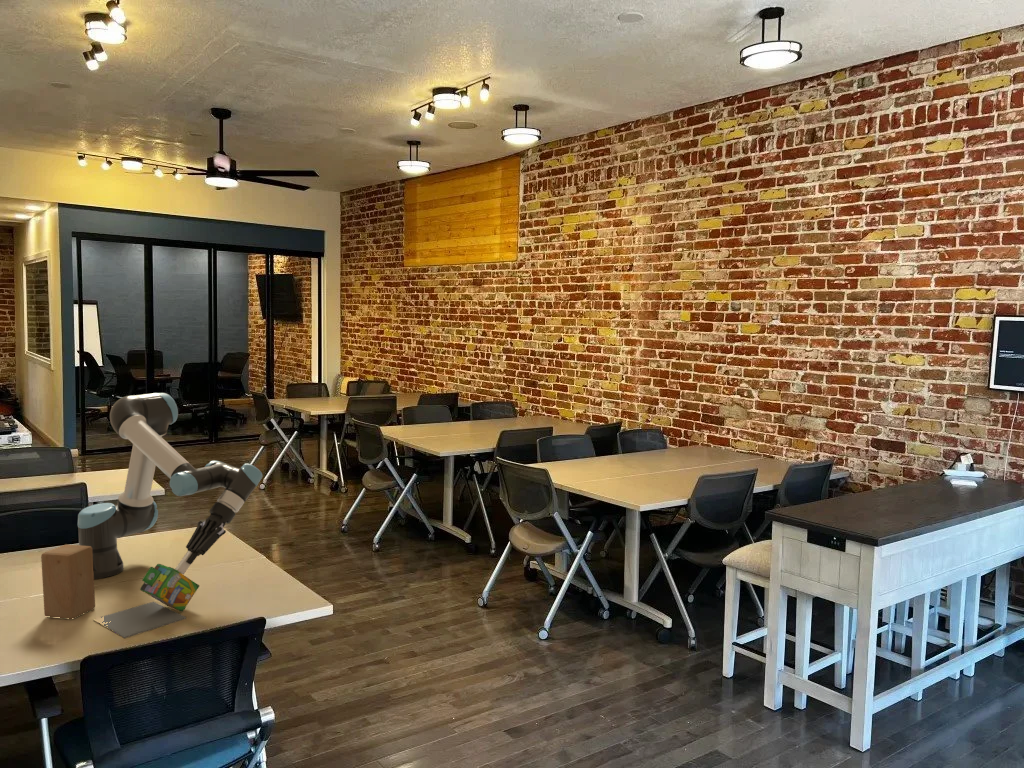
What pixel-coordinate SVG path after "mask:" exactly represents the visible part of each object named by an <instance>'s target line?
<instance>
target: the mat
mask: <svg viewBox="0 0 1024 768" xmlns="http://www.w3.org/2000/svg"><path fill="white" fill-rule="evenodd" d="M103 616H104V621H103V622H105V623H106V622H108V623H107V624H104V626H106V625H108V626H106V627H108V628H109V629H111V630H113V631H114V632H116V633H117V634H116V633H115V634H116V635H118V634H119V635H118V636H119V637H121V636H122V638H123V639H127V638H130V637H133V636H136V635H139V634H143V633H145V632H149V631H152V630H156V629H157V628H161V627H164V626H166V625H170V624H174V623H176V622H180V621H182V620H183V621H184V620H187V616H185V615H183V614H180V613H178V612H176V611H175V610H172V609H170V608H169V607H168V608H167V606H164V605H161V604H159V603H157V602H155V601H151V602H147V603H144V604H141V605H138V606H134V607H130V608H126V609H123V610H120V611H117V612H113V613H110V614H106V615H103ZM103 616H100V617H101V618H102V617H103ZM110 621H111V622H110ZM103 622H102V623H103ZM109 622H110V623H109ZM104 626H103V627H104ZM106 627H105V628H106ZM109 629H108V630H109ZM111 630H110V631H111ZM113 631H112V632H113ZM114 632H113V633H114Z"/></svg>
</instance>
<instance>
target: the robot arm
mask: <svg viewBox="0 0 1024 768" xmlns="http://www.w3.org/2000/svg"><path fill="white" fill-rule="evenodd" d="M178 417H179V410H178V406H177V403H176V401H175V399H174V398H173V397H172V396H171V395H170V394H168V393H165V392H153V393H143V394H136V395H135V394H133V395H126V396H123V397H121V398H119V399H118V400H116V402H114V403H113V405H112V407H111V409H110V412H109V420H110V425H111V427H112V429H113V430H114V432H116V434H117V435H118V436H120V438H122V439H123V440H128V441H130V443H132V449H131V453H130V458H129V465H128V470H127V475H126V480H125V486H124V491H123V492H122V493H120V494H119V495H118V498H117V504H114V503H111V502H103V503H97V504H96V503H95V504H92V505H88V506H86V507H84V508H82V510H80V511H79V513H78V514H77V528H78V529H77V531H78V532H77V533H78V545H81V546H91V547H92V553H93V572H94V580H96V579H98V578H99V579H104V578H108V577H113V576H115V575H118V574H120V573H122V572H123V571H124V566H125V565H124V561H123V559H122V556H121V555H120V551H119V549H118V544H117V543H118V541H117V540H118V539H121V538H123V537H127V536H130V535H133V534H139V533H143V532H145V531H147V530H149V529H151V528H152V527H153V526H154V525H155V524H156V522H157V520H158V518H159V510H158V509H157V508H158V505H157V503H156V502H155V501H154V499H155V498H153V496H152V495H151V491H152V486H153V482H154V476H155V470H156V467H157V468H158V469H159V470H160V471H161V472H162V473H163V474H164V475H166V477H167V478H169V479H170V480H169V487H170V488H171V492H172V493H173V494H174V495H175V496H176V497H177V496H178V497H183V496H191V495H194V494H197V493H202V492H204V491H209V490H213V489H217V488H224V490H223V491H222V493H221V494H220V496H219V497H218V498H217V501H216V502H215V503H214V504H213V505H212V506H211V507H210V509H209V513H210V515H209V516H208V517H207V518H206V519H205V520H204V521H202V520H199V521H198V522H197V526H196V528H195V530H194V532H193V533H192V534H191V537H190V539H189V540H188V542H187V544H186V546H185V548H186V549H187V551H186V553H185V554H184V556H183V557H182V558H181V560H180V561H179V563H178V564H177V566H176V567H175V568H174V569H175V570H177V571H178V572H180V573H181V574H183V575H185V573H186V572H187V571H188V570H189V567H191V565H192V564H193V563H194V561H195V560H196V559H197V557H200V556H204V555H205V554H206V553H207V552H208V551H209V550H210V549H211V547H212V546H214V544H215V543H216V542H218V540H219V539H220V538H221V537H222V536H224V535H225V534H226V532H227V531H226V529H224V527H225V526H226V524H227V525H228V524H230V523H231V522H232V521H233V519H234V518H235V517H236V514H237V513H238V512H239V511H240V509H241V508H242V507H243V505H244V504H245V502H246V501H247V500H248V498H249V497H250V495H251V494H252V493H253V492H254V490H255V489H256V488H257V487H258V485H259V484H260V481H261V480H262V478H263V472H262V471H261V470H260V469H259V468H258V467H256V466H255V465H252V464H250V463H244V464H243V465H242V466H240V467H237V466H234V465H231V464H229V463H225V462H223V461H219V460H210V461H209V462H208V463H206V465H205V466H204V467H199V468H196V467H194V466H193V465H192V464H191V463H190V462H189V461H187V460H186V458H185V457H184V456H182V455H181V454H180V453H179V452H178V451H177V450H176V449H175V448H174V447H173V446H171V444H170V443H168V442H167V440H165V439H164V438H163V436H165V435H167V433H168V428H169V425H172V424H174V423H176V421H177V419H178ZM99 579H98V580H99Z"/></svg>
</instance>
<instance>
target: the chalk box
mask: <svg viewBox="0 0 1024 768" xmlns="http://www.w3.org/2000/svg"><path fill="white" fill-rule="evenodd" d="M141 580H142V582H143V584H142V585H141V587H140V588H139V591H141V592H143V593H145V594H147V595H148V596H150V597H151V598H154V600H157V601H158V602H160V603H161V604H163V605H165V607H168V608H171V609H173V610H174V611H175V610H176V611H177V612H178V611H179V612H181V613H182V612H183V613H184V611H185V609H186V607H187V606H188V604H189V603H190V602H191V600H192V598H193V597H194V595H195V594H196V592H197V591H198V589H199V587H200V585H199V584H198V583H196V582H195V581H193V580H192V579H190V578H189V577H188V576H186V575H185V574H181V573H180V572H178V571H177V570H175V568H173V567H171V566H166V565H164V564H161V563H157V564H156V565H155V566H154V567H153V566H150V567H149V569H147V572H146V573H145V575H144V576H143V578H142V579H141Z"/></svg>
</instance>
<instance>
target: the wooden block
mask: <svg viewBox="0 0 1024 768" xmlns="http://www.w3.org/2000/svg"><path fill="white" fill-rule="evenodd" d="M40 558H41V576H42V577H41V578H42V593H43V594H42V596H43V610H44V612H43V614H44V617H45V616H50V617H60V618H69V619H72V618H75V617H77V616H79V615H81V614H83V613H85V614H86V612H87V611H89V612H91V611H93V610H94V609H95V607H96V597H95V594H96V593H95V579H94V572H93V553H92V547H91V546H81V545H79V544H78V545H77V544H67V543H65V544H64V545H61V546H58V547H55V548H53V549H50V550H48V551H45V552H42V553H41V556H40ZM92 609H93V610H92ZM90 610H91V611H90ZM87 613H88V612H87ZM83 615H84V614H83ZM81 616H82V615H81ZM79 617H80V616H79ZM77 618H78V617H77ZM75 619H76V618H75Z"/></svg>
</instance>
